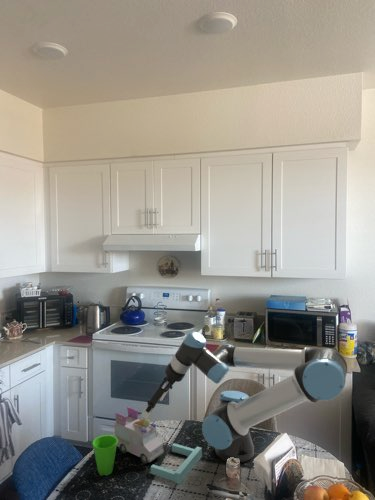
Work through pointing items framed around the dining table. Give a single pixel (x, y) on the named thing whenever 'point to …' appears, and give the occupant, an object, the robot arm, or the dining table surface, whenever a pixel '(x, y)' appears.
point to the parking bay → (185, 468)
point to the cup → (105, 453)
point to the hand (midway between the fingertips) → (151, 407)
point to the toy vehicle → (137, 436)
